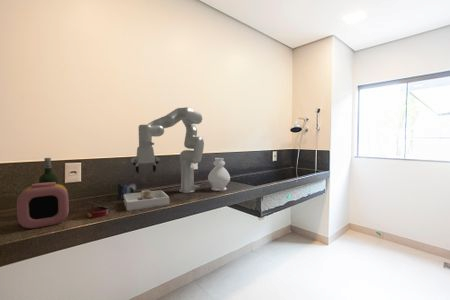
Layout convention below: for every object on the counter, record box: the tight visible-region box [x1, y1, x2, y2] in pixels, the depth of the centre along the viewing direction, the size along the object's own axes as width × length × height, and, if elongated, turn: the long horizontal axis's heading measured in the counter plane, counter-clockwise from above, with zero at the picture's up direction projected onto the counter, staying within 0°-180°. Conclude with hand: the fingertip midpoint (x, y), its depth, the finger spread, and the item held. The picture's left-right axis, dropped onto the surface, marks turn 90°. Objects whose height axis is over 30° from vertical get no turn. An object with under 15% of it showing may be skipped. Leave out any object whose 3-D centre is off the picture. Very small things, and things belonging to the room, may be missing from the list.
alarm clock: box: [16, 182, 70, 229], centre depth 106 cm, size 18×11×19 cm, turn 126°
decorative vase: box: [207, 157, 231, 192], centre depth 180 cm, size 18×18×25 cm
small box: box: [117, 181, 137, 201], centre depth 152 cm, size 11×6×10 cm, turn 129°
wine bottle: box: [38, 157, 59, 184], centre depth 120 cm, size 8×8×30 cm
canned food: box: [86, 200, 109, 219], centre depth 119 cm, size 11×10×10 cm
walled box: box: [123, 189, 170, 212], centre depth 140 cm, size 24×20×5 cm
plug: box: [141, 189, 151, 200], centre depth 140 cm, size 4×4×7 cm
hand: (145, 172), depth 139 cm, fingers open, 9 cm apart
